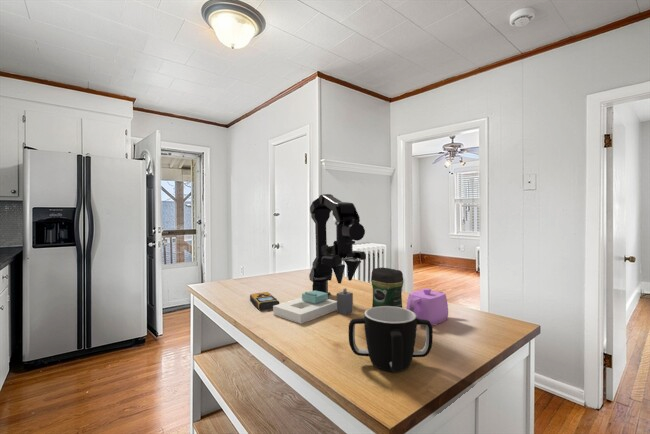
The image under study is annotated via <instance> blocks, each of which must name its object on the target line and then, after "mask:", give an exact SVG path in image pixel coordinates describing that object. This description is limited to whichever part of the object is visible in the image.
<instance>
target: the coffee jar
mask: <svg viewBox="0 0 650 434" xmlns="http://www.w3.org/2000/svg"><path fill="white" fill-rule="evenodd" d="M370 277H371V278H370V282H371V286H372V303H371V304H372V307H371V308H373V307H379V306H394V307H401V308H403V301H402V298H403V297H402V291H403V290H402V289H403V286H404V274H403V272H402V271H401V270H399V269H394V268H389V267H376V268H373V269H372V272H371V276H370Z"/></svg>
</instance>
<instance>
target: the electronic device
mask: <svg viewBox="0 0 650 434" xmlns="http://www.w3.org/2000/svg"><path fill="white" fill-rule="evenodd" d="M249 300H250V302H251V303H252V304H253V305H254V307H255V308H256V309H258V310H259V311H266V310H273V306H275V305H278V304H280V301H279V300H278V299H277V298H276V297H275V296H273V295H272V294H271V293H269V292H268V291H266V292H258V293H257V292H256V293H255V292H254V293H251V294H249Z"/></svg>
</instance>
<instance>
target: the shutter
mask: <svg viewBox="0 0 650 434" xmlns="http://www.w3.org/2000/svg"><path fill="white" fill-rule="evenodd" d="M301 298H302V300H303V301H306V302H310V303H314V304H317V303H320V302H323V301H326V300H328V299H329V295H328V293H324V292H320V291H315V290H314V291H312V290H311V291H305V292H304V293H301Z"/></svg>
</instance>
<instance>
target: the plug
mask: <svg viewBox="0 0 650 434" xmlns="http://www.w3.org/2000/svg"><path fill="white" fill-rule="evenodd" d="M353 295H354V294H353V292H349V291H347V288H345V287H344V288H342V291H340V292H338V293H336V301H337V310H336V312H337V313H336V314H339V315H343V316H348V315H350V314H352V313H354V297H353Z"/></svg>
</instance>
